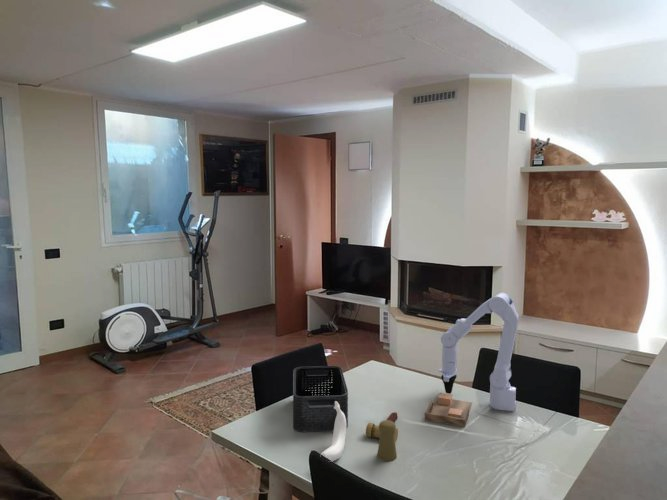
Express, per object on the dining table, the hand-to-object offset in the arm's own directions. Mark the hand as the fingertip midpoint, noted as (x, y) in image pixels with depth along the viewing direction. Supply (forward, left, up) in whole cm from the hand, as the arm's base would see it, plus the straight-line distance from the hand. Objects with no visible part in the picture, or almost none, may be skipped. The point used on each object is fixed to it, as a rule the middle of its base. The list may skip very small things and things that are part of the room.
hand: (448, 392), depth 189 cm
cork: (+10, +53, -2) cm, 54 cm away
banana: (+25, +59, -2) cm, 64 cm away
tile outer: (0, +8, -1) cm, 8 cm away
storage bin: (+42, +34, -2) cm, 54 cm away
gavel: (+15, +34, -2) cm, 38 cm away
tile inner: (-6, +20, -1) cm, 21 cm away
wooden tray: (-3, +15, -2) cm, 15 cm away
